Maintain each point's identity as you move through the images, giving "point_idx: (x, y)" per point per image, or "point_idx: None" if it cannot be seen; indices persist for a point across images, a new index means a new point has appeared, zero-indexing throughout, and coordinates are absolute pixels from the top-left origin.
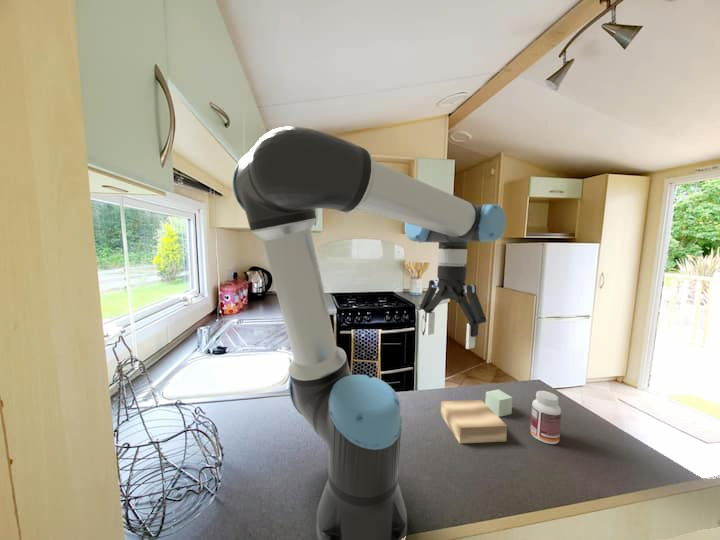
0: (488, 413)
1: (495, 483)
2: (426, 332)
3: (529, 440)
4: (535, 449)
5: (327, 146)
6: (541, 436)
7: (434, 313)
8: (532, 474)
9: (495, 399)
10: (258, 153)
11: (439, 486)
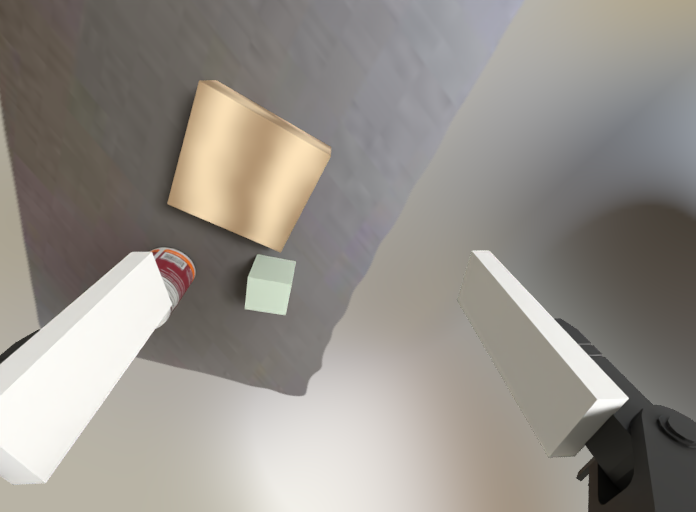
0: (226, 213)
1: (65, 19)
2: (493, 259)
3: (172, 233)
4: (145, 216)
5: None
6: (154, 252)
7: (545, 444)
8: (79, 135)
9: (260, 276)
10: None
11: None
